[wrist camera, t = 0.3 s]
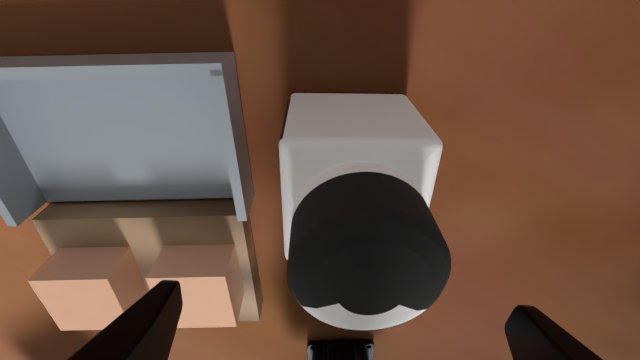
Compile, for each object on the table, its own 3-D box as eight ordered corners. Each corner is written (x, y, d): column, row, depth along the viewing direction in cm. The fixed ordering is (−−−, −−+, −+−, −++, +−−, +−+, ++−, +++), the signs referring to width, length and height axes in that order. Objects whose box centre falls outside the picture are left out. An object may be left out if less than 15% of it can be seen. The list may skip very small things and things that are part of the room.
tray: (254, 194, 24) (247, 220, 21) (41, 199, 24) (7, 226, 21) (234, 51, 19) (221, 63, 16) (-37, 57, 19) (-92, 69, 16)
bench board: (262, 300, 30) (259, 320, 28) (105, 304, 30) (92, 324, 28) (246, 198, 24) (241, 215, 22) (51, 202, 24) (31, 220, 22)
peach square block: (149, 294, 26) (131, 329, 24) (85, 295, 26) (60, 330, 24) (129, 246, 24) (107, 279, 21) (59, 248, 24) (27, 281, 21)
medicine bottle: (288, 91, 20) (261, 209, 10) (407, 92, 20) (502, 209, 10) (292, 190, 24) (274, 352, 13) (392, 191, 24) (450, 352, 14)
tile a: (244, 292, 26) (236, 326, 24) (180, 293, 26) (165, 328, 24) (234, 244, 24) (225, 276, 21) (163, 245, 24) (145, 278, 21)
